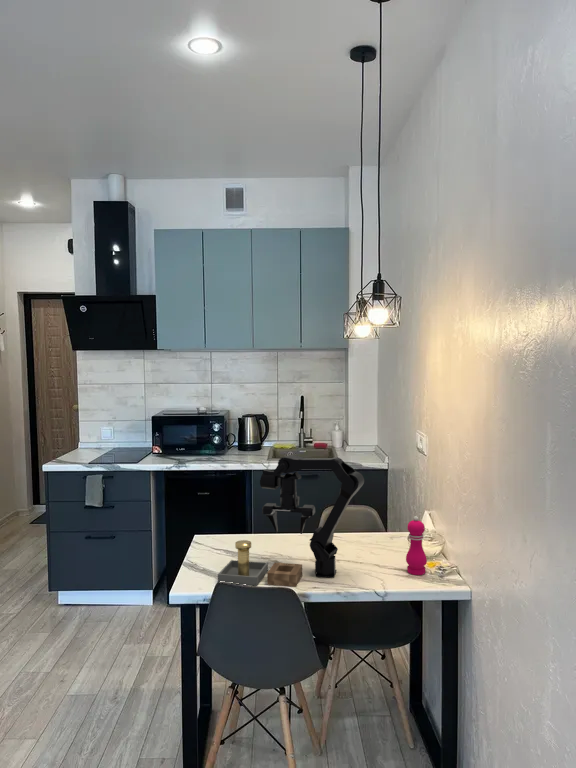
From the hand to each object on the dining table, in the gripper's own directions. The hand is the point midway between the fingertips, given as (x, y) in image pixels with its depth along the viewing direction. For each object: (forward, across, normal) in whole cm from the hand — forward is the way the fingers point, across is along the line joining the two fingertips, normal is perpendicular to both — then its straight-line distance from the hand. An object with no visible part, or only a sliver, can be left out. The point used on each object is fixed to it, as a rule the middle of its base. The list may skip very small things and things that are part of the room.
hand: (289, 532), depth 201 cm
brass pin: (+12, +14, +11) cm, 22 cm away
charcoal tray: (+13, +14, +11) cm, 22 cm away
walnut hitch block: (+13, -1, +11) cm, 17 cm away
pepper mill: (+13, -45, -5) cm, 47 cm away
